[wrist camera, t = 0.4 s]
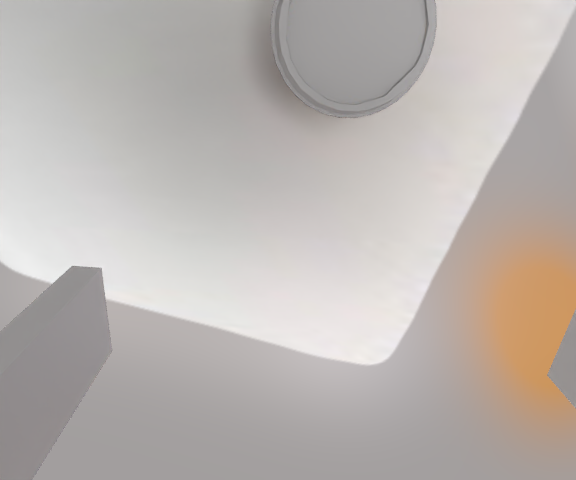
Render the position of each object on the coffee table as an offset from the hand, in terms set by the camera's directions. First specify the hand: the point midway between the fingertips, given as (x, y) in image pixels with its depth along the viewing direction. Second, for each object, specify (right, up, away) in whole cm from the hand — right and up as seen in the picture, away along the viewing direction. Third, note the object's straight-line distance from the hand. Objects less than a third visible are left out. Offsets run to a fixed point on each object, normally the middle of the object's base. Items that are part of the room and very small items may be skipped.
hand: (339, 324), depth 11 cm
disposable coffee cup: (+2, +19, +22) cm, 29 cm away
